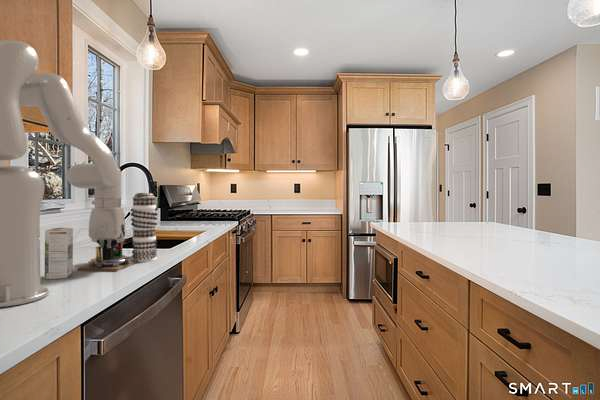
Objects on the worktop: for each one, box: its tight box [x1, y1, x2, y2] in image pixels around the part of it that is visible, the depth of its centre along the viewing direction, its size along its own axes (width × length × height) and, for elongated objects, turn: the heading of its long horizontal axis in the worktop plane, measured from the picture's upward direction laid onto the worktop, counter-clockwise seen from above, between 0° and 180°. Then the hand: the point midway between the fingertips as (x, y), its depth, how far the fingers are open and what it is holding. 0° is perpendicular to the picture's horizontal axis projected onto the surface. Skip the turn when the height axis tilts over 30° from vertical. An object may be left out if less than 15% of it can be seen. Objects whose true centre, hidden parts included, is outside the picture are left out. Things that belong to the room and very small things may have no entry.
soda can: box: [114, 238, 123, 256], centre depth 122 cm, size 5×5×12 cm
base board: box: [76, 260, 139, 272], centre depth 113 cm, size 13×13×1 cm
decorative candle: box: [130, 192, 159, 263], centre depth 124 cm, size 9×9×25 cm
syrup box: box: [44, 227, 74, 281], centre depth 99 cm, size 6×6×14 cm
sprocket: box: [87, 245, 133, 267], centre depth 114 cm, size 13×13×6 cm
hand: (107, 259), depth 109 cm, fingers closed
